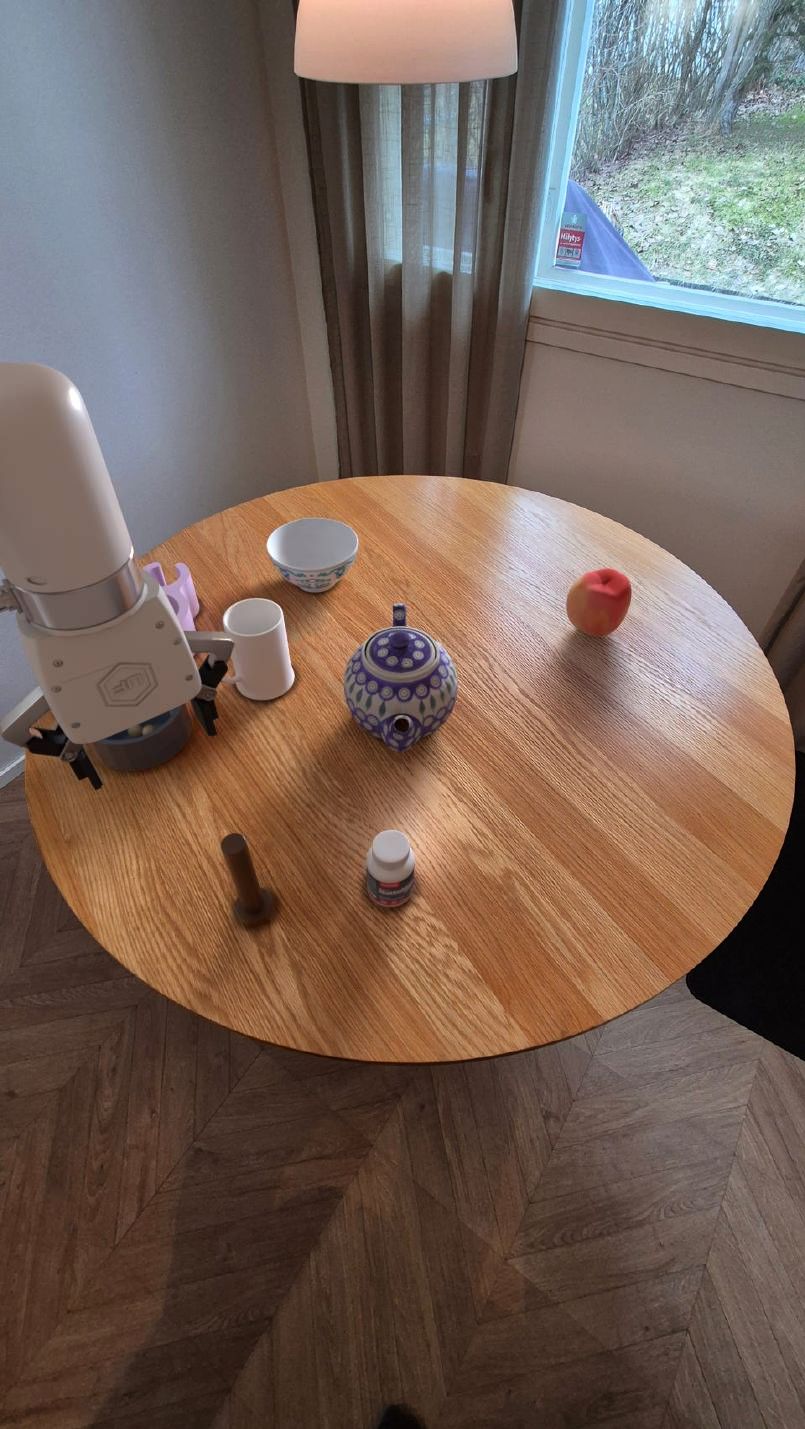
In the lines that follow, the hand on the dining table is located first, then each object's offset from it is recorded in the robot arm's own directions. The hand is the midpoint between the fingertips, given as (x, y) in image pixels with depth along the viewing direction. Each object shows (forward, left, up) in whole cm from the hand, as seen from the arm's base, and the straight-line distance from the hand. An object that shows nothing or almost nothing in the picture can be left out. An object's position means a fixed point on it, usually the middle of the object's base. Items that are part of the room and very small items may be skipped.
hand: (152, 750), depth 55 cm
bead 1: (+1, +28, -25) cm, 37 cm away
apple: (+69, +9, -26) cm, 74 cm away
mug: (+19, +28, -26) cm, 43 cm away
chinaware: (+39, +45, -26) cm, 65 cm away
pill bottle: (+17, -10, -26) cm, 33 cm away
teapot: (+33, +11, -26) cm, 44 cm away
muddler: (+3, -4, -26) cm, 27 cm away
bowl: (+2, +28, -26) cm, 38 cm away
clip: (+12, +46, -26) cm, 54 cm away
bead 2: (+3, +26, -25) cm, 36 cm away
